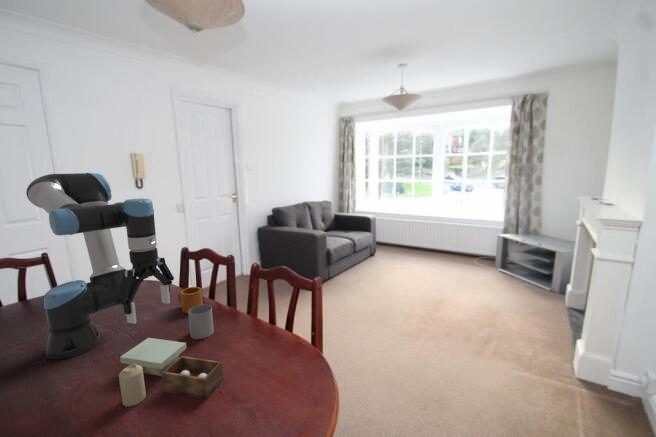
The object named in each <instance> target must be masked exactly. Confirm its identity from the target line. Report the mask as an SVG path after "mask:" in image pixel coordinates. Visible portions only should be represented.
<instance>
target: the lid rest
mask: <svg viewBox="0 0 656 437" xmlns="http://www.w3.org/2000/svg"><path fill="white" fill-rule="evenodd" d="M179 358H180V354H179V355H178V356H177V357H176V358H175V359H173V360H172V361H171V362H170V363H169V364H168V365H166V366H165V367H164V368H163V369H156V368H150V367H144V366H142V368H143V374H147V375H152V376H153V375H154V376H161V377H162V372H164V371H165V370H166V369H167V368H168V367H169V366H170V365H172V364H173V363H174V362H175V361H176V360H177V359H179Z"/></svg>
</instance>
